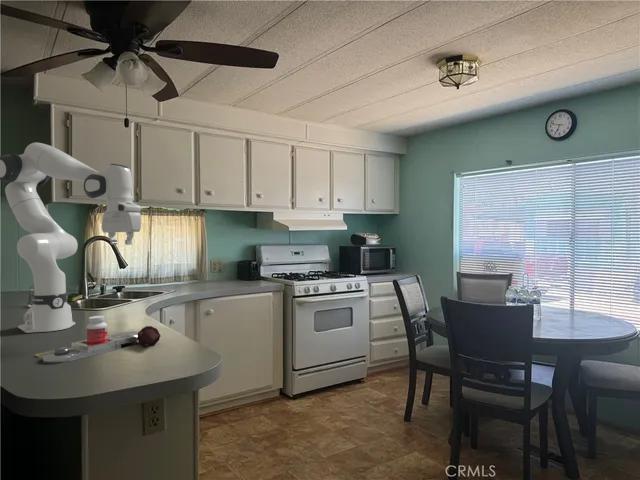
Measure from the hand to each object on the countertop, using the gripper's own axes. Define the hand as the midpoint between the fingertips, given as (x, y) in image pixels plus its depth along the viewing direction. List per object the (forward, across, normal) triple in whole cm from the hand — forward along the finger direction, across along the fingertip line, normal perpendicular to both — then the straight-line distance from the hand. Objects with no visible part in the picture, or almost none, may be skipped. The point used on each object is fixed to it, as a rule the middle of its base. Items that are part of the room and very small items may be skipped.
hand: (121, 244), depth 168 cm
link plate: (+35, +3, -27) cm, 44 cm away
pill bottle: (+34, +12, -17) cm, 40 cm away
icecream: (+34, +22, -4) cm, 41 cm away
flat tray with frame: (+34, +12, -17) cm, 40 cm away
